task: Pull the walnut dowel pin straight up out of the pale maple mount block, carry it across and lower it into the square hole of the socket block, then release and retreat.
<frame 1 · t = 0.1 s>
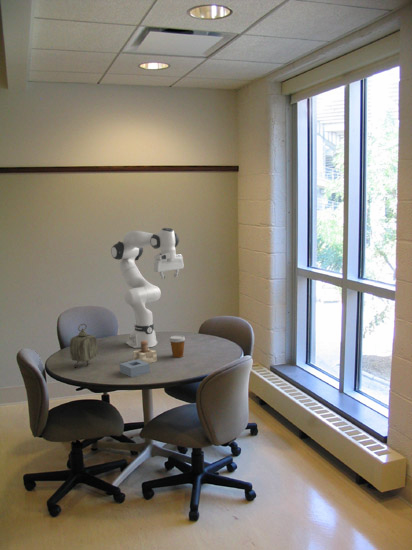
hand: (169, 277, 341), 48 cm above the table, tool pointing down, fingers open, 8 cm apart
disposable coffee cup: (178, 356, 344), on the table
socket: (134, 372, 315), on the table
pin: (144, 351, 335), in the mount
tabletop clock: (85, 365, 331), on the table
mount: (145, 361, 336), on the table
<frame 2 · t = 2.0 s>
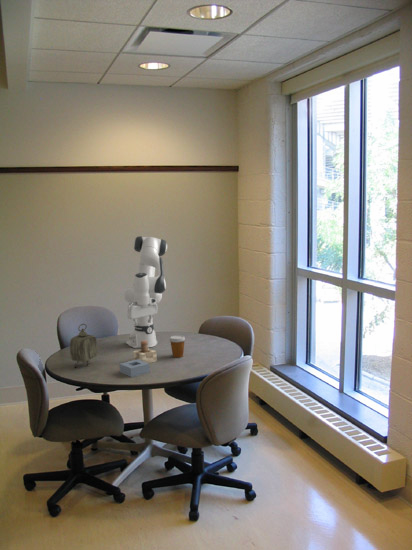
hand: (143, 324, 333), 23 cm above the table, tool pointing down, fingers open, 8 cm apart
nothing on the table moved.
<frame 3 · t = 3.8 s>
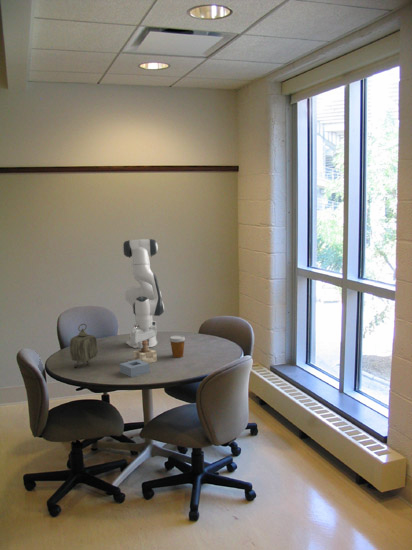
hand: (144, 347, 335), 9 cm above the table, tool pointing down, fingers closed on pin, 4 cm apart
pin: (144, 351, 335), in the mount, touching gripper
everything else where it was.
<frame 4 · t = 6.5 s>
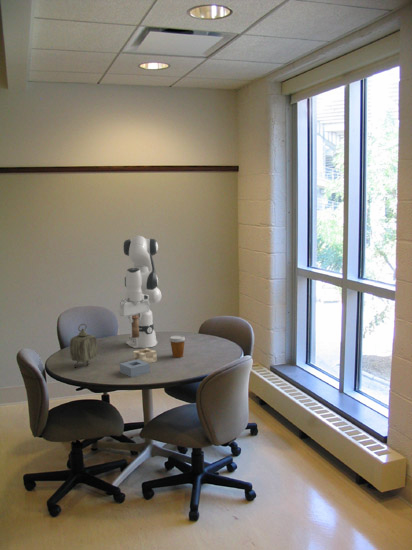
hand: (135, 321, 316), 28 cm above the table, tool pointing down, fingers closed on pin, 4 cm apart
pin: (135, 326, 316), point 25 cm above the table, touching gripper
everything else where it was.
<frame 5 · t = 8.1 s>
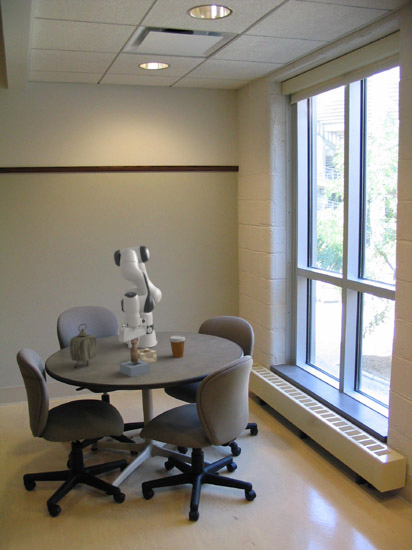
hand: (133, 346, 313), 15 cm above the table, tool pointing down, fingers closed on pin, 4 cm apart
pin: (133, 350, 314), point 12 cm above the table, touching gripper
everything else where it was.
when the fingers open (11 cm above the table, at t = 9.2 s): pin drops 2 cm, resting in socket.
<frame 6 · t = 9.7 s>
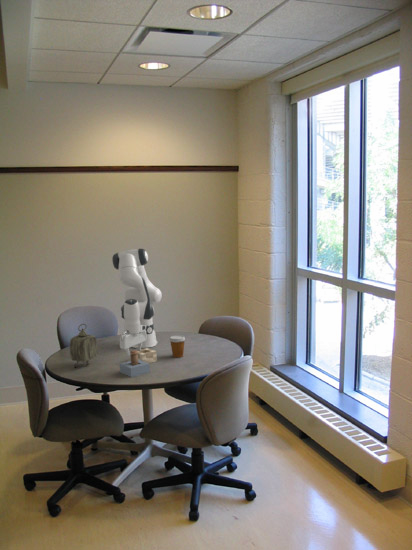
hand: (133, 353, 314), 11 cm above the table, tool pointing down, fingers open, 8 cm apart
pin: (134, 361, 315), in the socket
everything else where it was.
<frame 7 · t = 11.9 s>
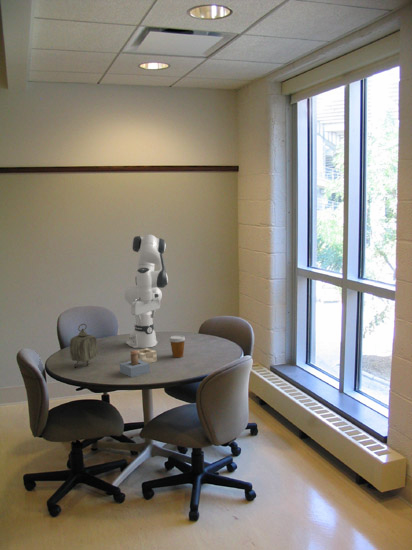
hand: (146, 319, 328), 26 cm above the table, tool pointing down, fingers open, 8 cm apart
nothing on the table moved.
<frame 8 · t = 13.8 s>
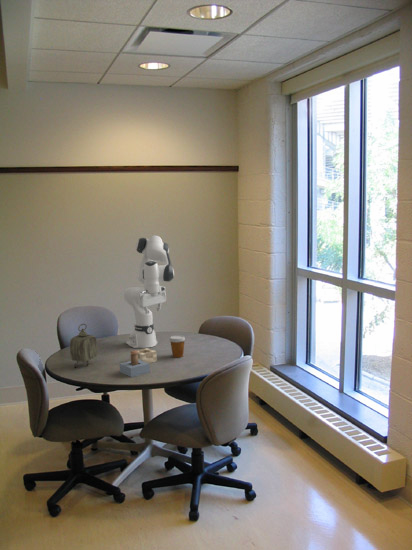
hand: (153, 312, 334), 29 cm above the table, tool pointing down, fingers open, 8 cm apart
nothing on the table moved.
at the end: pin 0.1 cm off-centre on the socket, point 6.0 cm above the socket's base; pin tilted 0°; the gripper is holding nothing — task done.
